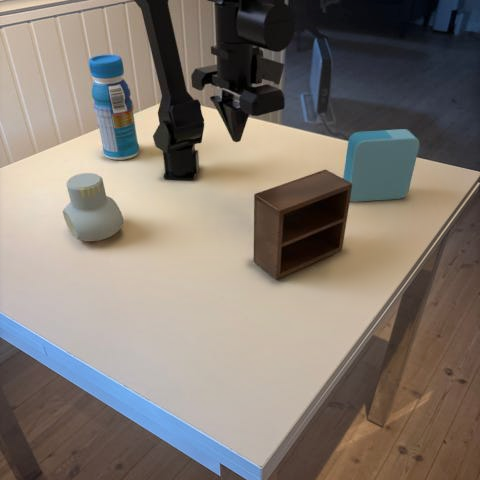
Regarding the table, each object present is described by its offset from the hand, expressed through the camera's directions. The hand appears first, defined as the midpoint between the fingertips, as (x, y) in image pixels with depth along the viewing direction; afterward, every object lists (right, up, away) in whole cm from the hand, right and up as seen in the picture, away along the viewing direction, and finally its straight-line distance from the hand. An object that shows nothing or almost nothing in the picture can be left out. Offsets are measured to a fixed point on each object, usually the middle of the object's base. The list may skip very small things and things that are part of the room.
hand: (236, 141), depth 84 cm
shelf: (+10, -21, -4) cm, 23 cm away
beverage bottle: (-27, +7, +29) cm, 40 cm away
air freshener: (-25, -15, +3) cm, 29 cm away
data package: (+27, -6, +12) cm, 30 cm away
